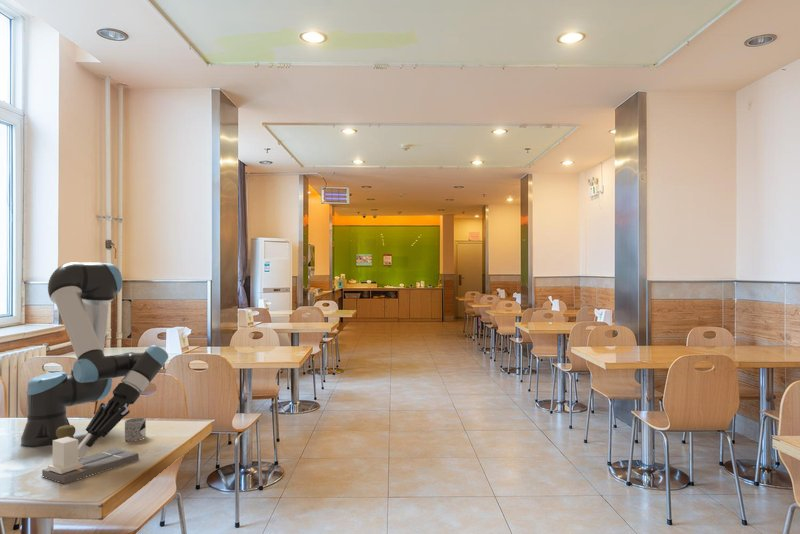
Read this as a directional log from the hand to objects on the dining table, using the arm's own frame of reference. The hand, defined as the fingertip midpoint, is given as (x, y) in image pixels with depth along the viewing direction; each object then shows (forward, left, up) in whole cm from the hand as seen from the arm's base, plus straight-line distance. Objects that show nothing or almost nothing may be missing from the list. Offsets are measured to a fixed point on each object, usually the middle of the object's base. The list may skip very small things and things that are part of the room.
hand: (77, 455), depth 152 cm
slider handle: (-1, -3, -3) cm, 4 cm away
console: (+1, +4, -5) cm, 7 cm away
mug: (-12, +32, -5) cm, 35 cm away
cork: (-13, +6, -5) cm, 16 cm away
